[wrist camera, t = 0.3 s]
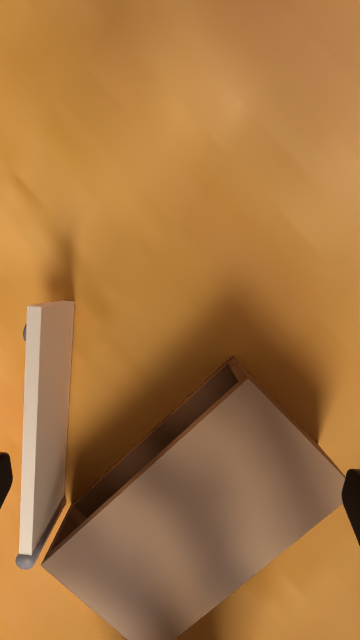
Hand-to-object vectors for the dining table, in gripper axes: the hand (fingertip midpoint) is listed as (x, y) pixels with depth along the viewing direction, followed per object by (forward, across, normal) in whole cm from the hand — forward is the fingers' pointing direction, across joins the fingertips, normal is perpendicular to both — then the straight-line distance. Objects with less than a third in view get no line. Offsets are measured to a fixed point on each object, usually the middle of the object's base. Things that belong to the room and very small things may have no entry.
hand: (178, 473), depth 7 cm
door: (+13, +9, +7) cm, 18 cm away
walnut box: (+12, -2, +12) cm, 17 cm away
